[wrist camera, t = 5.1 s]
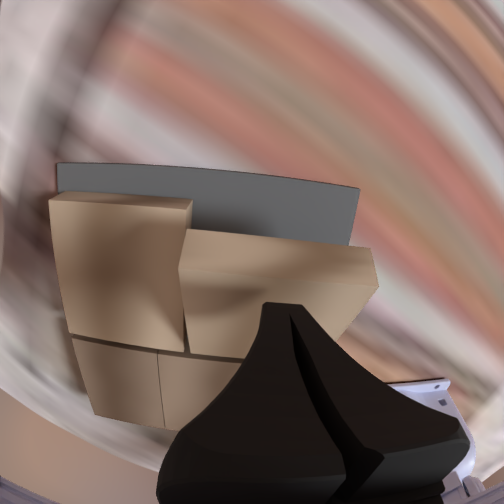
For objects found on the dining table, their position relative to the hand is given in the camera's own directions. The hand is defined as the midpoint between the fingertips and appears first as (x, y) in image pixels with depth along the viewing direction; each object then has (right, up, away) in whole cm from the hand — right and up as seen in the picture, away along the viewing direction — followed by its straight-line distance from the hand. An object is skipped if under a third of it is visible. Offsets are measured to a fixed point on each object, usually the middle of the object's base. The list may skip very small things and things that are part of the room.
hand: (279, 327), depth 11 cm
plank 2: (0, +1, +4) cm, 4 cm away
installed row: (-5, -6, +9) cm, 12 cm away
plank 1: (-8, +2, +6) cm, 10 cm away
